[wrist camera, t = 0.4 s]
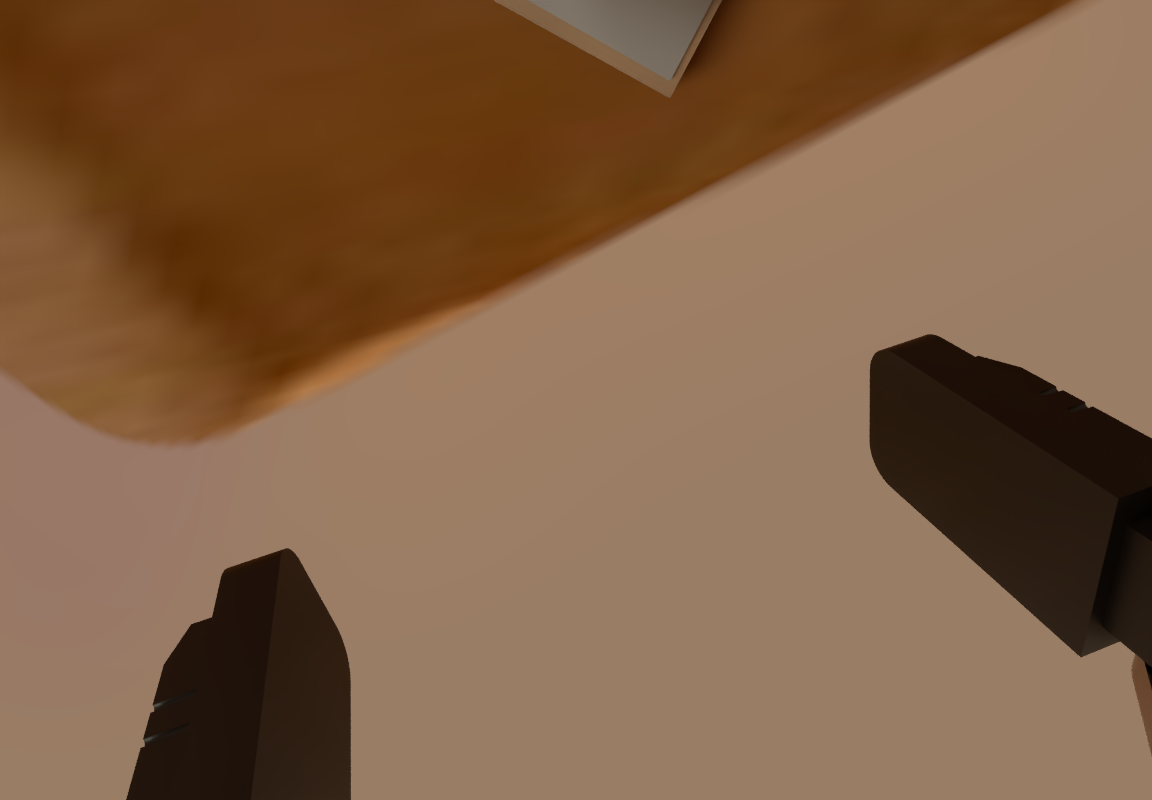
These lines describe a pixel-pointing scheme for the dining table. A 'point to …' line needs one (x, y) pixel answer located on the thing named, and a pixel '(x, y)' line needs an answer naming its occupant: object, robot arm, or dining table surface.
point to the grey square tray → (628, 32)
